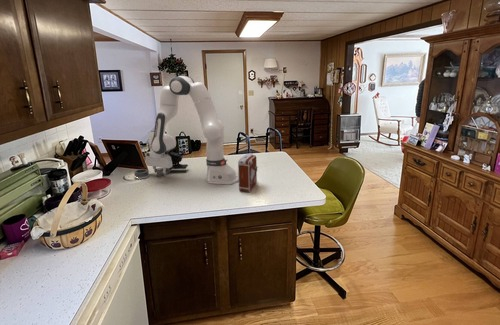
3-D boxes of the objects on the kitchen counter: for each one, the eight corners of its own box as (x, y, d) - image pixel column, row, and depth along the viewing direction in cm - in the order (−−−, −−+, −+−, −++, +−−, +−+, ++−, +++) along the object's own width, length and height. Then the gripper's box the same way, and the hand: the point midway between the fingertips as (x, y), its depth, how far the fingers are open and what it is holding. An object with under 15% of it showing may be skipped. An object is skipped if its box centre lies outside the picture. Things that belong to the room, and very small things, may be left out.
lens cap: (165, 175, 201) (165, 168, 199) (161, 177, 196) (160, 170, 195) (160, 174, 203) (159, 167, 201) (155, 176, 198) (154, 169, 197)
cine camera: (261, 182, 185) (261, 152, 179) (251, 193, 167) (250, 160, 161) (247, 180, 187) (247, 151, 182) (236, 191, 170) (235, 159, 164)
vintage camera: (185, 174, 203) (184, 146, 198) (164, 173, 203) (162, 146, 198) (188, 170, 213) (187, 143, 207) (168, 169, 213) (166, 143, 207)
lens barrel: (152, 175, 199) (151, 169, 198) (142, 180, 191) (141, 173, 190) (141, 174, 203) (140, 168, 201) (132, 178, 195) (131, 172, 193)
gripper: (173, 153, 194) (175, 173, 198) (149, 151, 201) (151, 169, 205) (167, 156, 188) (169, 175, 192) (143, 153, 196) (145, 172, 200)
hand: (160, 172), depth 199 cm, fingers open, 5 cm apart
